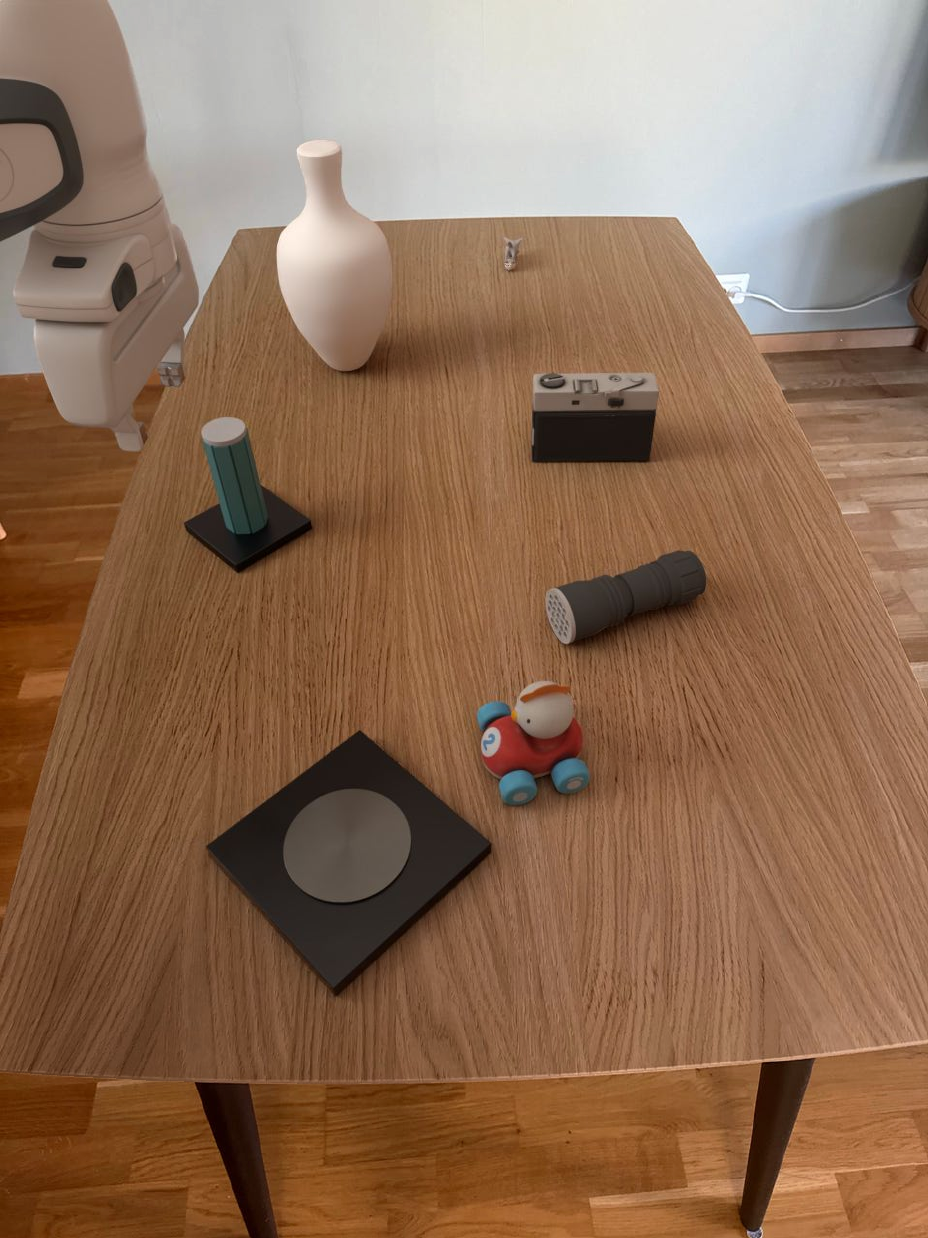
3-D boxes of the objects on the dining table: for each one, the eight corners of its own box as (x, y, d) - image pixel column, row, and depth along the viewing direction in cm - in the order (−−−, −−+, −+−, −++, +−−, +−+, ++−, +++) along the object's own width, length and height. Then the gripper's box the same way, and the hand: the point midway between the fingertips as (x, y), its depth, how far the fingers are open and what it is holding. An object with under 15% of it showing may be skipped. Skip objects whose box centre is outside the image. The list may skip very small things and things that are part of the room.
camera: (643, 424, 113) (652, 350, 106) (650, 463, 107) (661, 389, 100) (530, 424, 114) (532, 351, 107) (531, 464, 108) (533, 390, 101)
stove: (335, 997, 65) (332, 987, 63) (209, 856, 73) (203, 844, 72) (492, 852, 72) (491, 841, 71) (361, 739, 81) (359, 727, 79)
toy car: (469, 726, 81) (466, 651, 74) (563, 706, 82) (569, 630, 75) (495, 812, 75) (495, 739, 68) (597, 789, 76) (607, 715, 69)
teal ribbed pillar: (242, 539, 98) (217, 447, 89) (219, 521, 100) (192, 429, 92) (275, 520, 100) (254, 428, 92) (251, 503, 102) (228, 411, 94)
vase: (359, 403, 118) (330, 178, 98) (273, 375, 124) (229, 156, 104) (420, 353, 126) (405, 136, 106) (337, 329, 132) (308, 117, 112)
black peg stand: (238, 573, 96) (223, 520, 91) (185, 530, 101) (169, 478, 96) (312, 528, 101) (302, 475, 96) (259, 490, 106) (247, 438, 101)
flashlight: (677, 573, 94) (685, 533, 90) (706, 607, 91) (716, 567, 87) (544, 618, 90) (546, 578, 86) (569, 655, 87) (573, 615, 83)
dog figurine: (521, 277, 147) (524, 240, 146) (518, 263, 139) (520, 225, 138) (501, 276, 147) (504, 240, 147) (497, 262, 139) (499, 224, 139)
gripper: (119, 185, 72) (161, 347, 81) (-2, 306, 57) (67, 485, 67) (197, 188, 71) (230, 350, 81) (95, 311, 57) (150, 490, 67)
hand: (155, 412), depth 74 cm, fingers open, 8 cm apart
